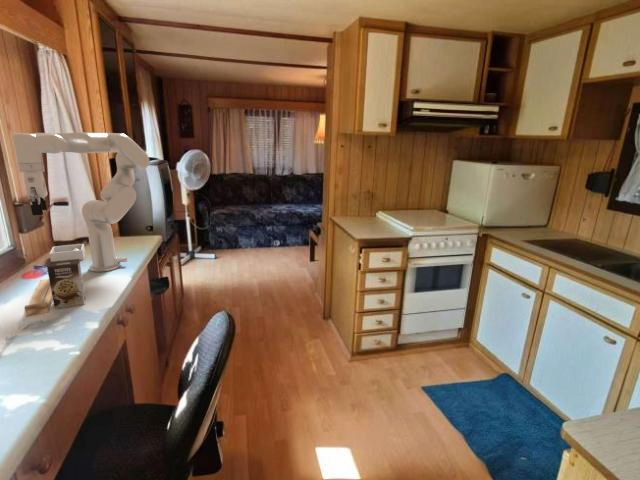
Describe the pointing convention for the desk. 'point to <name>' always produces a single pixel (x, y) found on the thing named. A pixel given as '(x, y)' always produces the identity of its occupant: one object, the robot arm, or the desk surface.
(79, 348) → the desk surface
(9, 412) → the desk surface
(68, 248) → the parts corral
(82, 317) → the desk surface
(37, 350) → the desk surface
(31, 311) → the oak board
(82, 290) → the coffee box
